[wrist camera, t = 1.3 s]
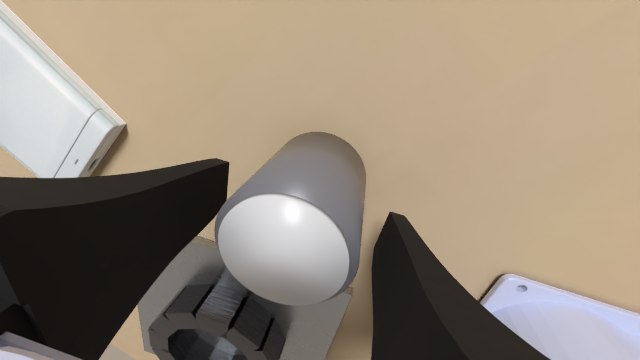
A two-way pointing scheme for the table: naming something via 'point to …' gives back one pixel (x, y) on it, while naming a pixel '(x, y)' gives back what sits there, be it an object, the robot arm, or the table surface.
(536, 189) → the table surface
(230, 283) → the flat grey square plate
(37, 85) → the hard drive
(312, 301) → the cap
